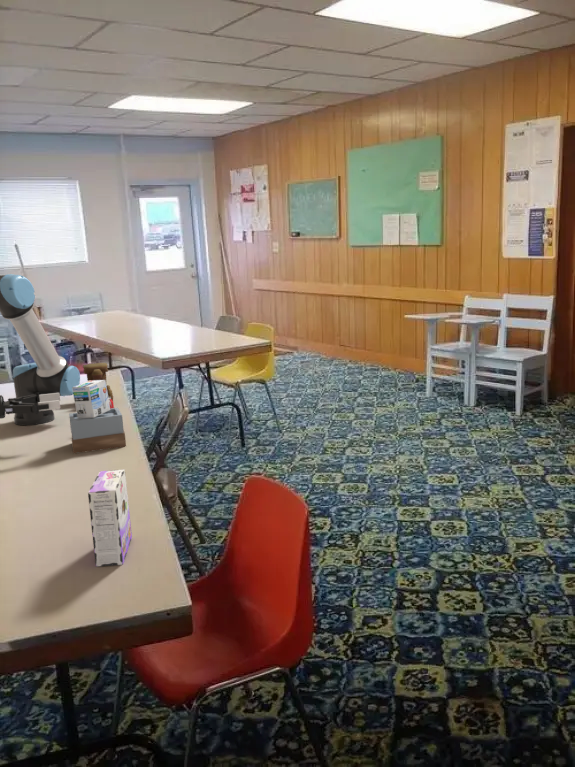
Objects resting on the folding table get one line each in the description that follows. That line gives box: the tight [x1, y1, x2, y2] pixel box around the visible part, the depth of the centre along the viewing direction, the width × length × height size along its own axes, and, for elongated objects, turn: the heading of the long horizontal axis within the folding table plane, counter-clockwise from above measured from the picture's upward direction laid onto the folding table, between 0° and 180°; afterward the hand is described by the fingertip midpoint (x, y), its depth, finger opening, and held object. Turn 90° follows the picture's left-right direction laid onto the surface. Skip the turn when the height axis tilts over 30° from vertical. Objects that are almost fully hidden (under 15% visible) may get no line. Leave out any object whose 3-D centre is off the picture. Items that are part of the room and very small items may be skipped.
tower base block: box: [71, 431, 127, 454], centre depth 235 cm, size 13×17×5 cm
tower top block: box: [68, 407, 125, 440], centre depth 234 cm, size 12×16×6 cm
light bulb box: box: [72, 379, 110, 418], centre depth 232 cm, size 11×7×11 cm, turn 164°
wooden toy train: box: [82, 362, 114, 402], centre depth 301 cm, size 20×11×17 cm, turn 19°
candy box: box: [87, 469, 133, 567], centre depth 147 cm, size 14×6×16 cm, turn 5°
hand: (60, 400), depth 229 cm, fingers open, 13 cm apart
